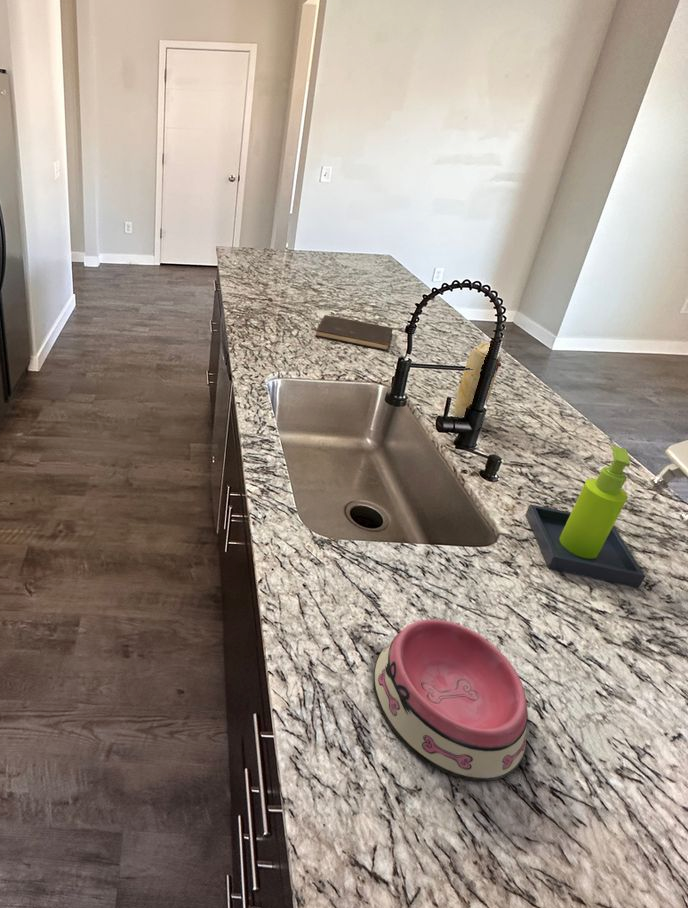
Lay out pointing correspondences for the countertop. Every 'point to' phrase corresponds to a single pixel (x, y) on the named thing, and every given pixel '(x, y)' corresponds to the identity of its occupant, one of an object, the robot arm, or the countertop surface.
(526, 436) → the countertop surface
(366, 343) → the hardcover book
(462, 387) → the food model
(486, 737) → the dog bowl
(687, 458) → the robot arm
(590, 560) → the drip tray
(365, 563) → the countertop surface
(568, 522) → the soap dispenser
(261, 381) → the countertop surface
